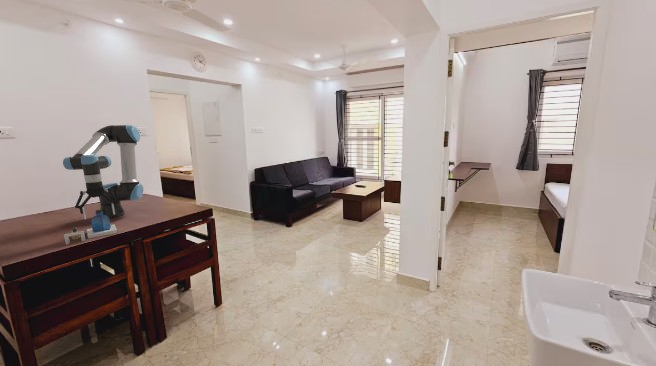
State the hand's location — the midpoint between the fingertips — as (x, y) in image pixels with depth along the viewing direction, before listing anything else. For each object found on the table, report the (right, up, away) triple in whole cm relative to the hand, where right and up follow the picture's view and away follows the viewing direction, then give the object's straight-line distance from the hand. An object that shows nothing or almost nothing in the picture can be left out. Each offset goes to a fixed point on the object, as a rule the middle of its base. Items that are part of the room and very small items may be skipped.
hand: (100, 216), depth 168 cm
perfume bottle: (0, -8, +1) cm, 8 cm away
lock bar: (-9, -11, -6) cm, 16 cm away
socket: (0, -10, +1) cm, 10 cm away
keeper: (-3, -13, -13) cm, 19 cm away
